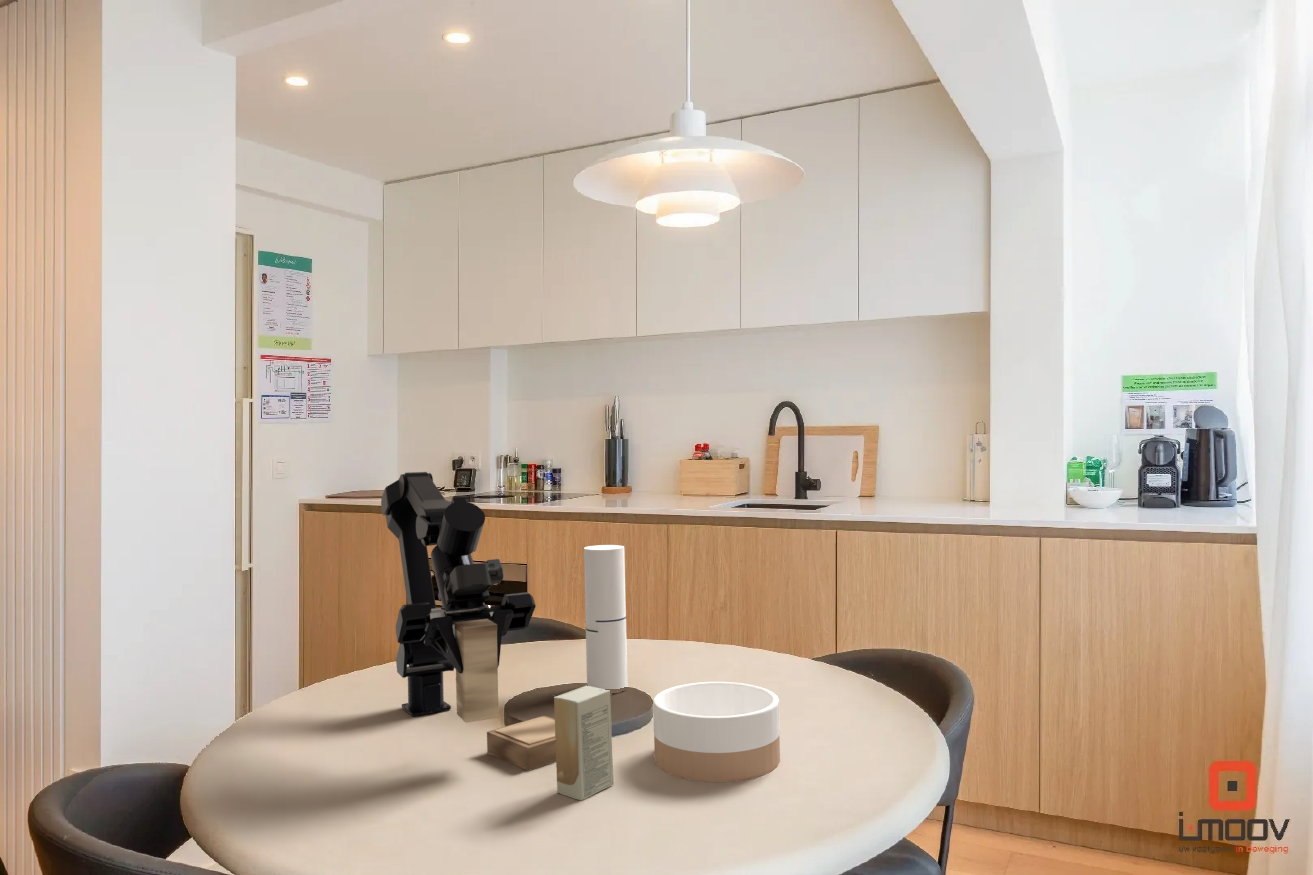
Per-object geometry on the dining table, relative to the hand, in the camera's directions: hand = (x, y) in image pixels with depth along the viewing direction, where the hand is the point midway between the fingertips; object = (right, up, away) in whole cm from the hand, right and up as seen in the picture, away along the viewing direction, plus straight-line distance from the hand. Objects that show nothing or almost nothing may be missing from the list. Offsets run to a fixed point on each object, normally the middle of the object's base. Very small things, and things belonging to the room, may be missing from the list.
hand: (479, 669), depth 120 cm
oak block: (0, -7, +1) cm, 7 cm away
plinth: (+7, -13, +6) cm, 16 cm away
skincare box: (+15, -13, -8) cm, 21 cm away
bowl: (+32, -13, +2) cm, 35 cm away
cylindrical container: (+15, -13, +38) cm, 43 cm away
